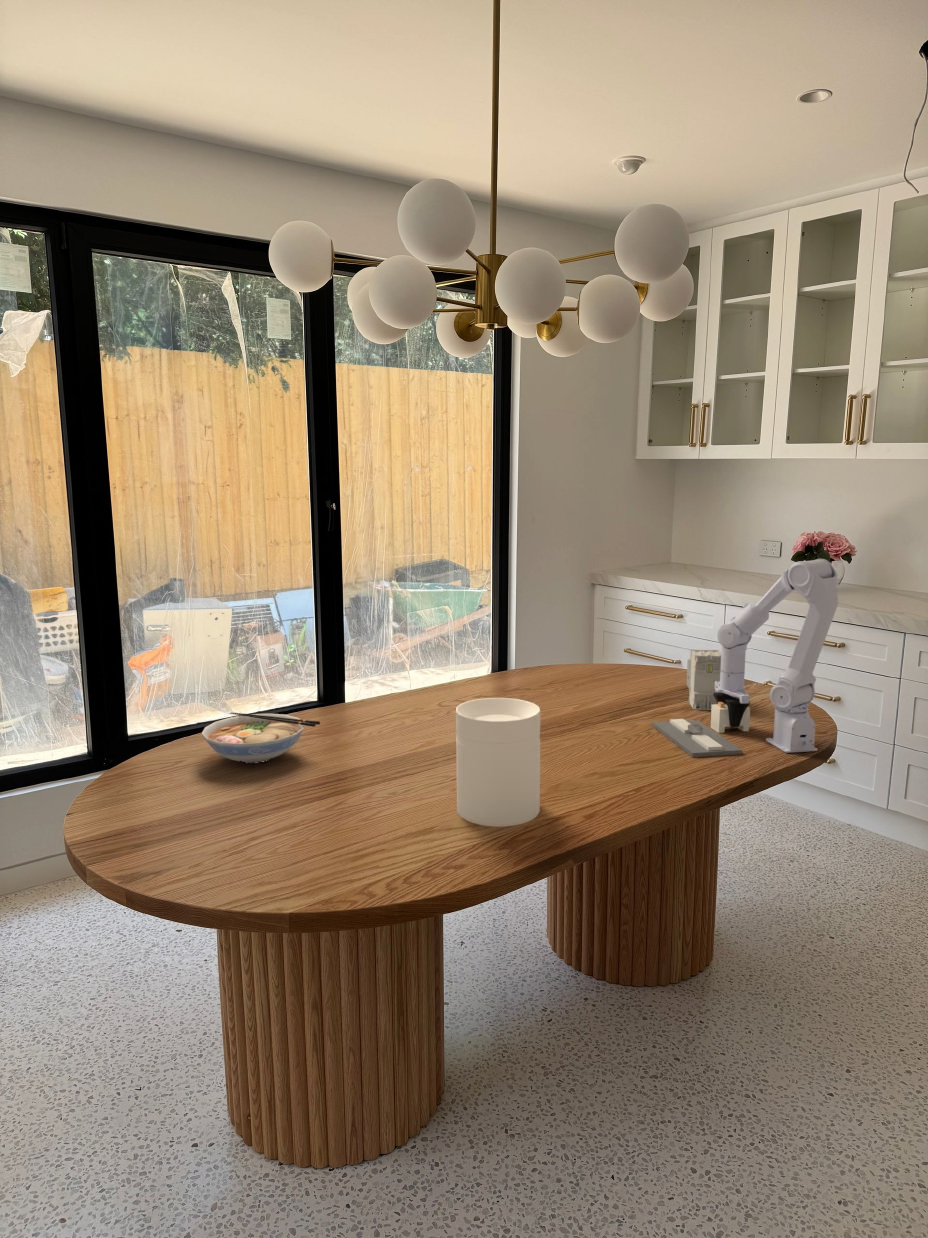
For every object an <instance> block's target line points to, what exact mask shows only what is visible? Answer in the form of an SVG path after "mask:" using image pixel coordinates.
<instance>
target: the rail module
mask: <svg viewBox="0 0 928 1238" xmlns="http://www.w3.org/2000/svg"><path fill="white" fill-rule="evenodd" d="M710 711H711V713H710V729H712V730H713V731H715V732H716V733H718V734H723V733H725V729H726V728H725V727H730V722H729V711H728V707H727V704H724V703H723V702H718V704H713V705H712V709H711V710H710ZM750 715H751V708H750V706H748V707H747V708H746V710H745V712H744V714H743V717H742V720H741V723H740V726H739V727H736V728H737V729H738V730H740V731H741V732H749V731H750V721H751V719H750V717H751V716H750Z"/></svg>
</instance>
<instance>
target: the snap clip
mask: <svg viewBox="0 0 928 1238" xmlns="http://www.w3.org/2000/svg"><path fill="white" fill-rule="evenodd" d="M688 730H689V731H691V732H692V733H702V732H703V728H702V727H701V726H699V725H698V724H691V725H688Z"/></svg>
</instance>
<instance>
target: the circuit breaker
mask: <svg viewBox="0 0 928 1238" xmlns="http://www.w3.org/2000/svg"><path fill="white" fill-rule="evenodd" d="M686 665H687V666H686V686H687V687H688V692H689V694H688V703H689V705H690V706H691V707H692V709H693V710H694V711H695V710H697V711H711V709H712V705H713V704H717V702H716V700H715V698H714V696H713V693H718V692H717V691H715V681H720V671H721V650H719V649H690V658H687V664H686Z"/></svg>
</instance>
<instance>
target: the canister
mask: <svg viewBox="0 0 928 1238" xmlns="http://www.w3.org/2000/svg"><path fill="white" fill-rule="evenodd" d="M455 708H456V709H455V733H456V736H455V738H456V739H455V741H456V743H455V745H456V747H455V748H456V759H455V760H456V813H457V814H458V815H459V817H460V818H462V819H464V820H465V821H467V822H469V823H471V824H474V825H475V824H476V825H479V826H485V827H486V826H487V827H491V828H492V827H493V828H494V827H495V828H496V827H497V828H498V827H500V828H501V827H502V828H503V827H512V826H520V825H523V824H525V823H528V822H531V821H533V820H534V819H535V818H537V817H538V815H539V813H540V811H541V810H540V809H541V806H540V805H541V804H540V803H541V801H540V800H541V799H540V798H541V793H540V792H541V790H540V789H541V737H540V736H541V734H540V733H541V709H540V706H539V705H537V704H536V703H534V702H532V701H531V702H530V701H528V700H522V699H518V698H509V697H488V698H487V697H486V698H478V699H472V700H467V701H465V702H463V703H460V704H458V705H457V706H456V707H455Z"/></svg>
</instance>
